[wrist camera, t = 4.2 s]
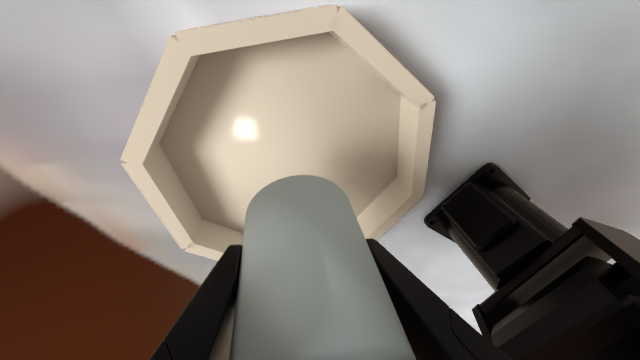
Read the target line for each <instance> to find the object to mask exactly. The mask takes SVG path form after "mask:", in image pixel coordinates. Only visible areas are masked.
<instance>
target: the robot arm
mask: <svg viewBox="0 0 640 360" xmlns="http://www.w3.org/2000/svg"><path fill="white" fill-rule="evenodd" d="M424 223H425V224H426V226H427V227H429V228H431V229H432V230H434V231H436V232H438V233H440V234H441V235H443V236H445V237H447V238H448V239H450V240H452V241H454V242H455V243H457V245H458V246H459V247H460V248H461V250H462V251H463V252H464V253H465V255H466V256H467V257H468V258H469V259H470V261H471V262H472V263H473V264H474V266H475V267H476V268H477V269H478V271H479V272H480V273H481V274H482V276H483V277H484V278H485V279H486V281H487V282H488V283H489V284H490V286H491V287H492V288H493V289H494V291H495V292H494V293H493V294H492V295H491V296H489V297H488V298H487V299H486V300H485V301H484V302H482V303H481V304H477V305H476V306H475V307H474V308H473V309H472V311H473V314H474V316H475V319H476V321H477V323H478V326H479V328H480V331H481V333H482V335H483V336H482V335H481V334H480V333H479V332H477V331H476V330H475V329H474V328H473V327H471V326H470V325H469V324H468V323H467V322H466V321H465V320H463V319H462V318H461V317H460V316H459V315H458V314H457V313H456V312H455V311H453V310H452V309H451V308H449V306H448V305H447V304H446V303H445V302H443V301H442V300H441V299H440V298H439V297H438V296H437V295H436V294H435V293H434V292H432V291H431V290H430V289H429V288H428V287H427V286H426V285H425V284H424V283H423V282H421V281H420V280H419V279H418V278H417V277H416V276H415V275H414V274H413V273H412V272H410V271H409V270H408V269H407V268H406V267H405V266H404V265H403V264H402V263H401V262H399V261H398V260H397V259H396V258H395V257H394V256H393V255H392V254H391V253H390V252H388V251H387V250H386V249H385V248H384V247H383V246H382V245H381V244H380V243H379V242H377V241H376V240H375V239H373V238H369V239H366V242H367V244H368V246H369V249H370V251H371V253H372V256H373V258H374V261H375V263H376V265H377V268H378V270H379V272H380V275H381V277H382V280H383V282H384V284H385V287H386V289H387V291H388V294H389V296H390V298H391V301H392V303H393V306H394V308H395V310H396V313H397V315H398V317H399V320H400V322H401V325H402V327H403V329H404V332H405V334H406V336H407V339H408V341H409V344H410V346H411V348H412V351H413V353H414V355H415V358H416V360H640V240H639V239H637V238H636V237H634V236H632V235H630V234H629V233H627V232H625V231H623V230H620V229H617V228H614V227H610V226H607V225H604V224H601V223H597V222H594V221H591V220H588V219H585V218H581V217H580V218H579V219H577V220H576V221H575V222H574V223H573V224H572V227H571V228H570V229H569V230H568V229H567V228H566V227H564V226H563V225H562V224H560V223H559V222H558V221H556V220H555V219H553V218H552V217H551V216H549V215H548V214H547V213H545V212H544V211H542V210H541V209H540V208H538V207H537V206H536V205H534V204H533V203H532V202H530V197H529V196H528V195H527V194H526V193H525V192H524V191H523V190H522V189H521V188H519V187H518V186H517V185H516V184H515V183H514V182H513V181H512V180H511V179H510V178H509V177H508V176H507V175H506V174H505V173H504V172H503V171H502V170H501V169H500V168H499V167H497V166H496V165H495V164H493V163H488V164H486V165H484V166H483V167H482V168H481V169H480V170H478V171H477V172H476V173H475V174H474V175H473V176H472V177H471V178H469V179H468V180H467V181H466V182H465V183H464V184H463V185H462V186H460V187H459V188H458V189H457V190H456V191H455V192H454V193H452V194H451V195H450V196H449V197H448V198H447V199H446V200H445V201H443V202H442V203H441V204H440V205H439V206H438V207H437V208H436V209H434V210H433V211H432V212H431V213H430V214H429V215H428V216H426V217H425V219H424ZM241 252H242V245H241V244H233V245H229V246H228V248H227V249H226V250H225V252H224V253H223V255H222V256H221V258H220V259H219V261H218V262H217V263H216V265H215V266H214V268H213V269H212V271H211V272H210V273H209V275H208V276H207V278H206V279H205V281H204V282H203V283H202V285H201V286H200V288H199V289H198V291H197V292H196V293H195V295H194V296H193V298H192V299H191V301H190V302H189V304H188V305H187V306H186V308H185V309H184V311H183V312H182V314H181V315H180V316H179V318H178V319H177V321H176V322H175V324H174V325H173V327H172V328H171V329H170V331H169V332H168V334H167V335H166V336H165V338H164V340H165V341H162V342H161V344H160V345H159V346H158V348H157V349H156V351H155V352H154V353H153V355H152V356H151V358H150V359H149V360H229V357H230V348H231V340H232V331H233V322H234V313H235V304H236V295H237V287H238V279H239V270H240V261H241ZM611 258H612V259H614V260H615V261H616V263H615V264H613V265H612V264H609V263H607V261H608V260H610V259H611Z"/></svg>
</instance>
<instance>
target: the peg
mask: <svg viewBox="0 0 640 360" xmlns="http://www.w3.org/2000/svg"><path fill="white" fill-rule="evenodd" d="M229 360H416V358H415V355H414V353H413V351H412V348H411V346H410V344H409V341H408V339H407V336H406V334H405V332H404V329H403V327H402V325H401V322H400V320H399V317H398V315H397V313H396V310H395V308H394V306H393V303H392V301H391V298H390V296H389V294H388V291H387V289H386V287H385V284H384V282H383V280H382V277H381V275H380V272H379V270H378V268H377V265H376V263H375V261H374V258H373V256H372V253H371V251H370V249H369V246H368V244H367V242H366V239H365V237H364V234H363V232H362V230H361V227H360V225H359V223H358V220H357V218H356V215H355V213H354V211H353V208H352V206H351V204H350V201H349V199H348V197H347V195H346V193H345V192H344V191H343V190H342V189H341V188H340V187H339V186H338V185H337V184H335V183H333V182H332V181H330V180H328V179H325V178H322V177H318V176H313V175H295V176H288V177H285V178H281V179H279V180H276V181H274V182H272V183H270V184H268V185H267V186H265V187H264V188H262V189H261V190H260V191H259V192H258V193H257V194H256V195H255V196H254V197H253V198H252V200H251V202H250V203H249V205H248V208H247V211H246V216H245V225H244V234H243V243H242V252H241V261H240V270H239V279H238V287H237V295H236V304H235V313H234V322H233V331H232V340H231V348H230V357H229Z"/></svg>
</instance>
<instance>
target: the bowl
mask: <svg viewBox="0 0 640 360" xmlns="http://www.w3.org/2000/svg"><path fill="white" fill-rule="evenodd" d="M175 33H176V35H173V36H170V38H169V40H168V43H167V45H166V48H165V50H164V52H163V55H162V57H161V60H160V62H159V65H158V67H157V70H156V72H155V75H154V77H153V80H152V82H151V85H150V87H149V90H148V92H147V95H146V97H145V100H144V102H143V105H142V107H141V110H140V112H139V115H138V117H137V120H136V122H135V125H134V127H133V130H132V132H131V135H130V137H129V140H128V142H127V145H126V147H125V150H124V152H123V155H122V157H121V160H123V161H124V162H123V163H122V166H123V167H124V169H125V170H126V171H127V173H128V174H129V176H130V177H131V179H132V180H133V181H134V183H135V184H136V186H137V187H138V188H139V190H140V191H141V193H142V194H143V195H144V197H145V198H146V200H147V201H148V203H149V204H150V205H151V207H152V208H153V210H154V211H155V212H156V214H157V215H158V217H159V218H160V220H161V221H162V222H163V224H164V225H165V227H166V228H167V229H168V231H169V232H170V234H171V235H172V236H173V238H174V239H175V241H176V242H177V244H178V245H179V246H180V248H181V249H185V248H186V249H185V251H186V252H189V253H193V254H196V255H200V256H203V257H207V258H210V259H214V260H217V261H219V259H220V258H221V256H222V255H223V253H224V252H225V250H226V249H227V248H228V246H229V245H233V244H241V245H242V243H243V234H244V225H245V216H246V211H247V208H248V205H249V203H250V202H251V200H252V198H253V197H254V196H255V195H256V194H257V193H258V192H259V191H260V190H261V189H262V188H264V187H265V186H267V185H268V184H270V183H272V182H274V181H276V180H279V179H281V178H285V177H288V176H295V175H313V176H318V177H322V178H325V179H328V180H330V181H332V182H333V183H335V184H337V185H338V186H339V187H340V188H341V189H342V190H343V191H344V192H345V193H346V195H347V197H348V199H349V201H350V204H351V206H352V208H353V211H354V213H355V215H356V218H357V220H358V223H359V225H360V227H361V230H362V232H363V234H364V237H365V239H369V238H373V239H375V240H376V241H377V240H378V239H379V238H380V237H381V236H382V235H383V234H384V233H385V232H386V231H387V230H389V229H390V228H391V227H392V226H393V225H394V224H395V223H396V222H397V221H398V220H399V219H400V218H401V217H403V216H404V215H405V214H406V213H407V212H408V211H409V210H410V209H411V208H412V207H413V206H414V205H416V204H417V203H418V202H419V201H420V200H421V199H422V198H421V197H420V196H424V189H425V182H426V174H427V167H428V159H429V151H430V144H431V136H432V129H433V121H434V114H435V106H436V101H435V100H433V99H434V98H435V97H434V96H433V95H432V94H431V93H430V92H429V91H428V90H427V89H426V88H425V87H424V86H423V85H422V84H421V83H420V82H419V81H418V80H417V79H416V78H415V77H414V76H413V75H412V74H411V73H410V72H409V71H408V70H407V69H406V68H405V67H404V66H403V65H402V64H401V63H400V62H399V61H398V60H397V59H396V58H395V57H394V56H392V55H391V54H390V53H389V52H388V51H387V50H386V49H385V48H384V47H383V46H382V45H381V44H380V43H379V42H378V41H377V40H376V39H375V38H374V37H373V36H372V35H371V34H370V33H369V32H368V31H367V30H366V29H365V28H364V27H363V26H362V25H361V24H360V23H359V22H358V21H357V20H356V19H355V18H354V17H353V16H352V15H351V14H350V13H349V12H348V11H347V10H346V9H345V8H344V7H343V6H340V7H337V4H336V5H324V6H318V7H313V8H307V9H301V10H295V11H289V12H284V13H278V14H272V15H266V16H260V17H254V18H249V19H243V20H237V21H231V22H225V23H219V24H214V25H208V26H202V27H196V28H191V29H187V30H182V31H178V32H175Z"/></svg>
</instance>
